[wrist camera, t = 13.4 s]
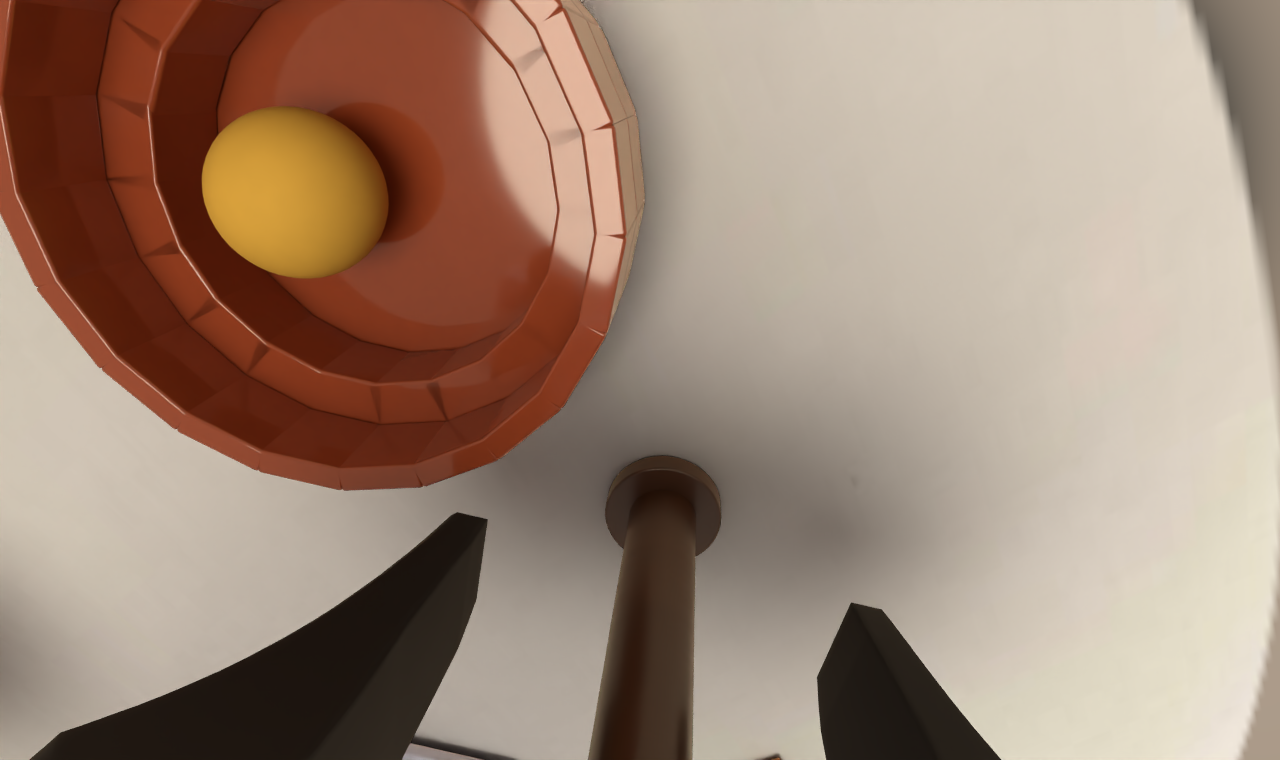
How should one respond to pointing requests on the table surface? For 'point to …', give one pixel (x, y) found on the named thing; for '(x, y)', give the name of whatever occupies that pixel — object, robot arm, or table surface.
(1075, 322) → the table surface
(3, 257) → the table surface
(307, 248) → the ball
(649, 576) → the stick
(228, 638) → the table surface
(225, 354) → the bowl
